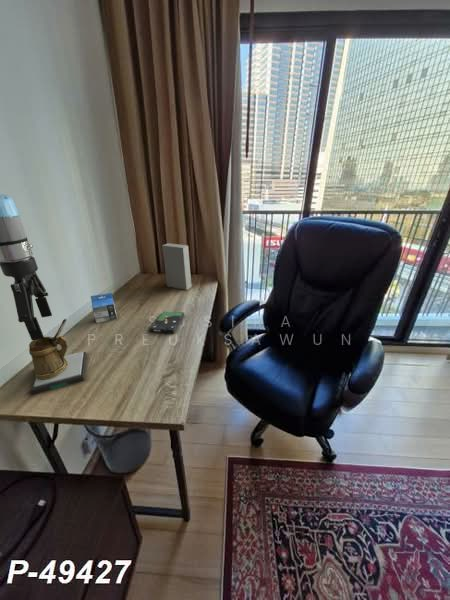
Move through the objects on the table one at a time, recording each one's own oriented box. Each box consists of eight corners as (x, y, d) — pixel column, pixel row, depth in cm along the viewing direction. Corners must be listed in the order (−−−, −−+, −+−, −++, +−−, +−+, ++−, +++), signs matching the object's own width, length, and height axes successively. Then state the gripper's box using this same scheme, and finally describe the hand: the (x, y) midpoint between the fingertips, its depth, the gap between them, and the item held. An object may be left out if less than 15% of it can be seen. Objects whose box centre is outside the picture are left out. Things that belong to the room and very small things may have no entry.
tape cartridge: (96, 324, 112) (89, 299, 107) (96, 320, 115) (89, 296, 110) (117, 320, 115) (111, 296, 110) (117, 316, 118) (111, 292, 113)
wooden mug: (78, 374, 80) (61, 326, 72) (30, 382, 77) (7, 333, 69) (85, 356, 88) (70, 312, 80) (42, 363, 85) (22, 317, 77)
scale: (33, 396, 76) (29, 389, 74) (42, 367, 87) (39, 360, 86) (84, 382, 81) (82, 375, 79) (87, 356, 92) (85, 350, 91)
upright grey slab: (192, 287, 148) (189, 245, 137) (186, 291, 143) (183, 247, 132) (173, 283, 153) (168, 242, 142) (167, 287, 148) (161, 245, 137)
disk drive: (174, 335, 104) (184, 317, 117) (174, 329, 102) (183, 311, 115) (150, 334, 105) (163, 315, 118) (149, 328, 104) (162, 310, 117)
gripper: (20, 271, 57) (50, 346, 67) (42, 246, 78) (62, 306, 87) (-21, 276, 54) (15, 354, 64) (13, 248, 75) (37, 310, 84)
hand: (42, 326), depth 76 cm, fingers open, 13 cm apart
